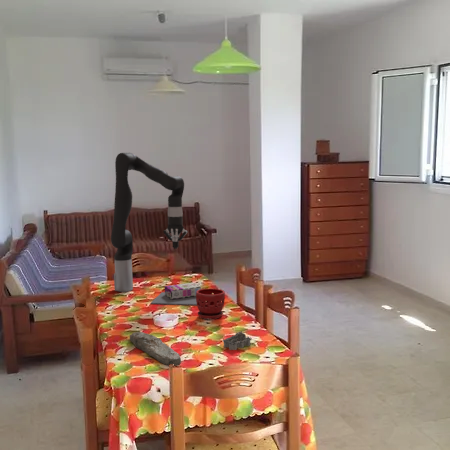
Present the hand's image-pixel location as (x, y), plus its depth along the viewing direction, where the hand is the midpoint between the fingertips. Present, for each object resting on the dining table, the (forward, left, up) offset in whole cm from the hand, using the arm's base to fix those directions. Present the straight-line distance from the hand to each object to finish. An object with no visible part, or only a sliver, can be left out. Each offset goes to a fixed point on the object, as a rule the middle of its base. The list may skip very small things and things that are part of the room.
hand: (175, 248), depth 278 cm
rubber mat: (+2, -5, -26) cm, 26 cm away
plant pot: (+24, -31, -26) cm, 47 cm away
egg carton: (+42, -66, -26) cm, 82 cm away
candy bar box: (-4, -5, -23) cm, 23 cm away
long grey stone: (+11, -76, -26) cm, 81 cm away
